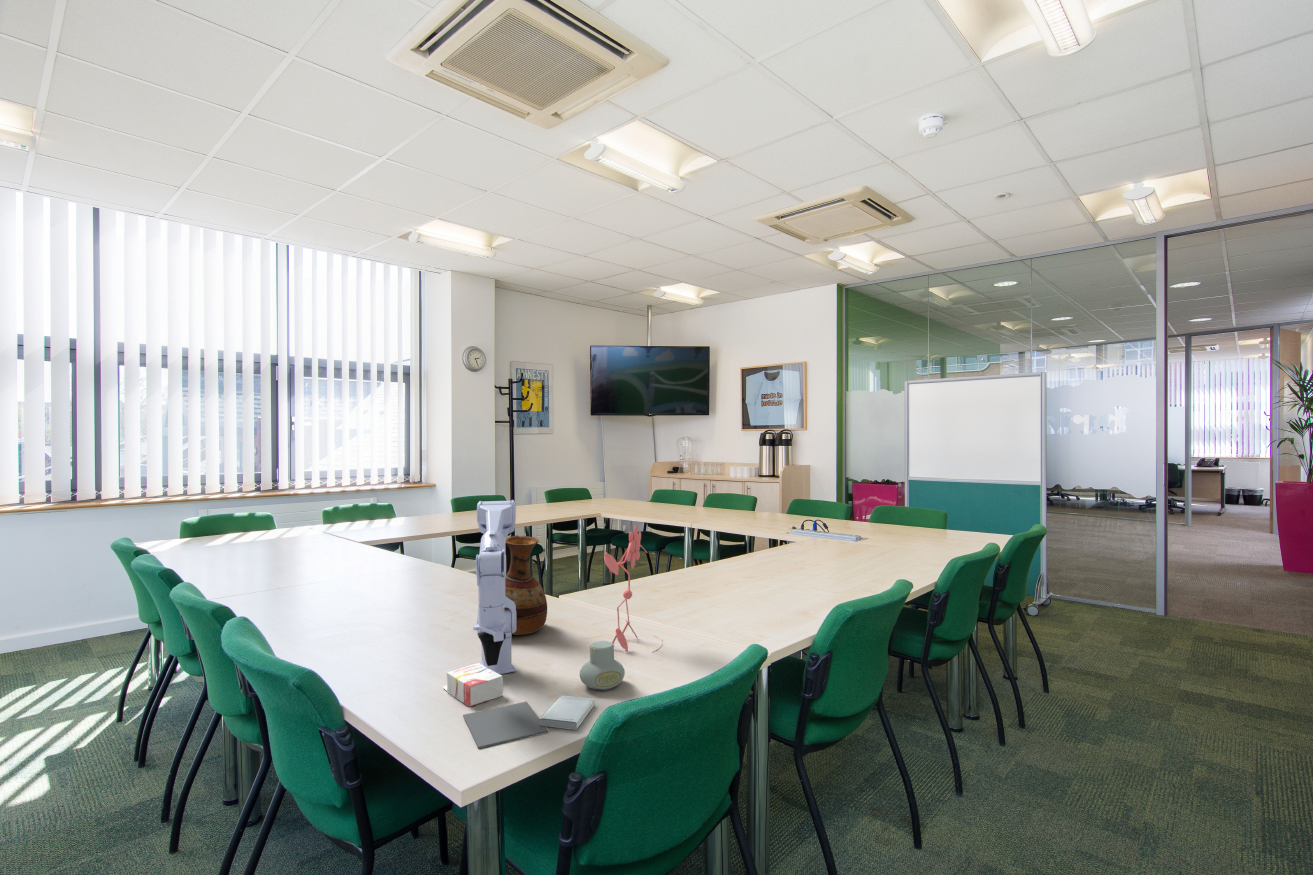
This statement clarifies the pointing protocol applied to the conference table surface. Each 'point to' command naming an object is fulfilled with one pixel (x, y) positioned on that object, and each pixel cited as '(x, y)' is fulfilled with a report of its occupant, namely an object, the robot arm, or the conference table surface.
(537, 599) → the ceramic pitcher
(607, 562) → the pink thin stick figure
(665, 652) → the conference table surface
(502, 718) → the mat
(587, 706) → the hard drive
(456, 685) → the ink cartridge box
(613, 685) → the air freshener
